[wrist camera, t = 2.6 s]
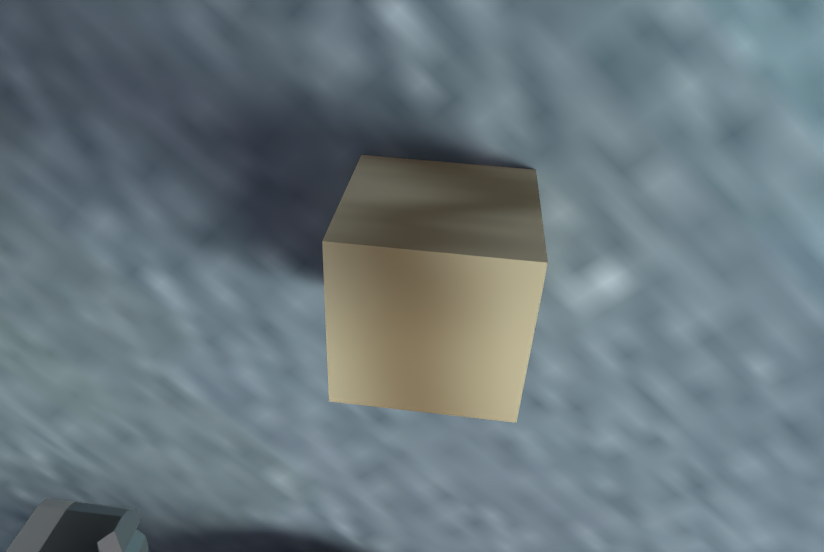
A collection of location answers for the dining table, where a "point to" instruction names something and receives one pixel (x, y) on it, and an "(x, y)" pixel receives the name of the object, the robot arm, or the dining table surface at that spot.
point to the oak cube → (433, 286)
